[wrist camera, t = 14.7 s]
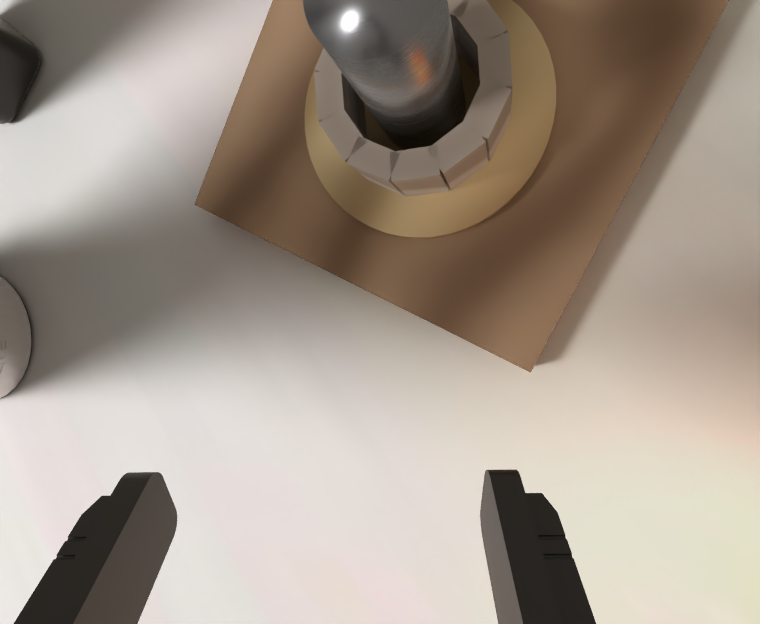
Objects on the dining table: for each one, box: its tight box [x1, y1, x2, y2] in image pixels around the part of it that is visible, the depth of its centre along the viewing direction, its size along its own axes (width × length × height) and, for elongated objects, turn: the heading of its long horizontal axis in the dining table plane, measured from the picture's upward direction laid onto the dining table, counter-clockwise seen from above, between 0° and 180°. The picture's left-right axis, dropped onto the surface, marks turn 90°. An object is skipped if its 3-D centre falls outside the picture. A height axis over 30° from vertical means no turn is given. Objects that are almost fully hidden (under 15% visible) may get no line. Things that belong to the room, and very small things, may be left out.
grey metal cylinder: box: [303, 0, 466, 150], centre depth 18 cm, size 4×4×10 cm
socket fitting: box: [195, 0, 729, 372], centre depth 22 cm, size 20×18×6 cm
